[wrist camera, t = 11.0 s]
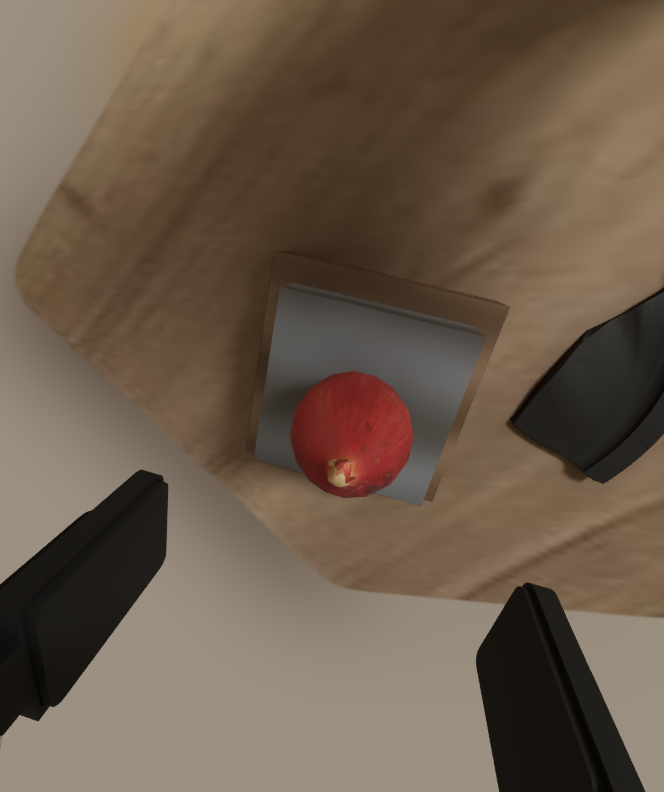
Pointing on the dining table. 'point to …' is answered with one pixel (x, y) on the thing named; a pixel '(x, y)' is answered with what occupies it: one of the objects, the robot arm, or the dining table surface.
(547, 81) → the dining table surface
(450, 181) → the dining table surface
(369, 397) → the onion
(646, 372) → the curved wedge
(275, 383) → the wood and metal stack
